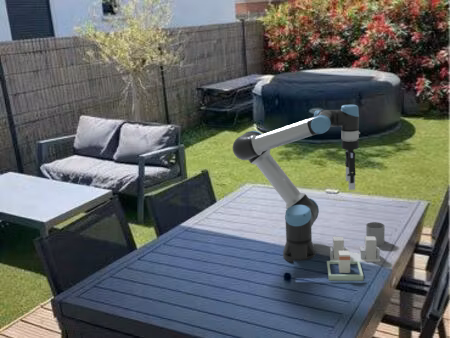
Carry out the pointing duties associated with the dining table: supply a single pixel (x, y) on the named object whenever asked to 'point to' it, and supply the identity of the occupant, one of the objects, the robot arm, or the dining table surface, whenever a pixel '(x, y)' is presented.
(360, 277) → the tray
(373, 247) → the block
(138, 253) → the dining table surface
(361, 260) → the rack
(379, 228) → the cup
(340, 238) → the block
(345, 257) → the block
